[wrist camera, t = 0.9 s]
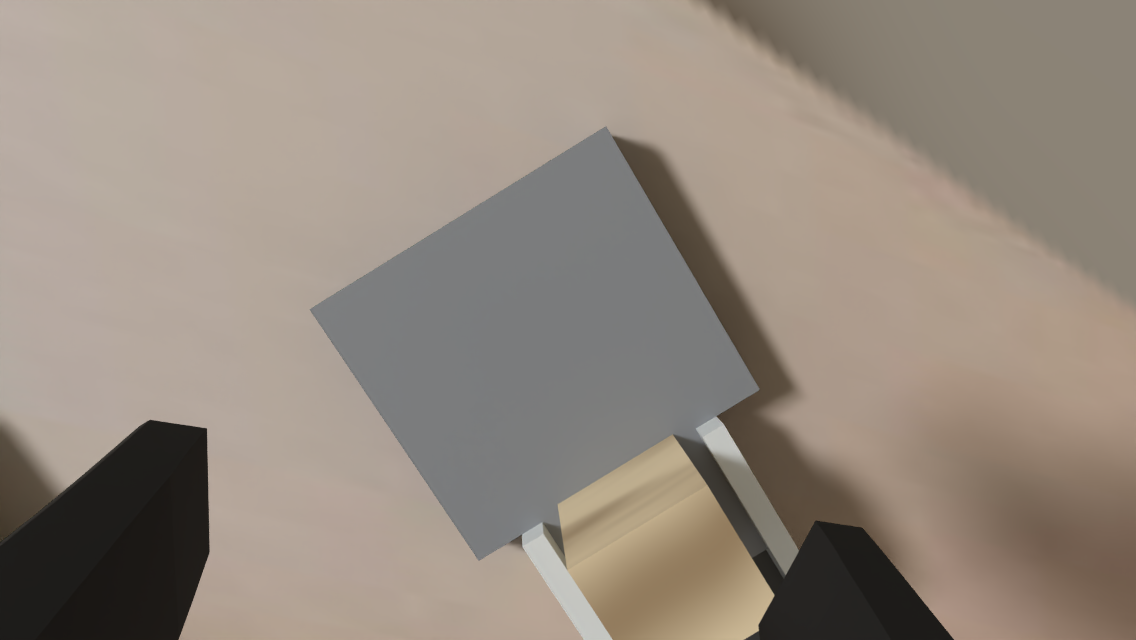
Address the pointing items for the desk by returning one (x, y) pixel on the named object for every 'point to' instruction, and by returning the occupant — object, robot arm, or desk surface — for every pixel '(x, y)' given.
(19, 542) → the robot arm
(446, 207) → the desk surface
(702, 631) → the maple block
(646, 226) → the trap channel
